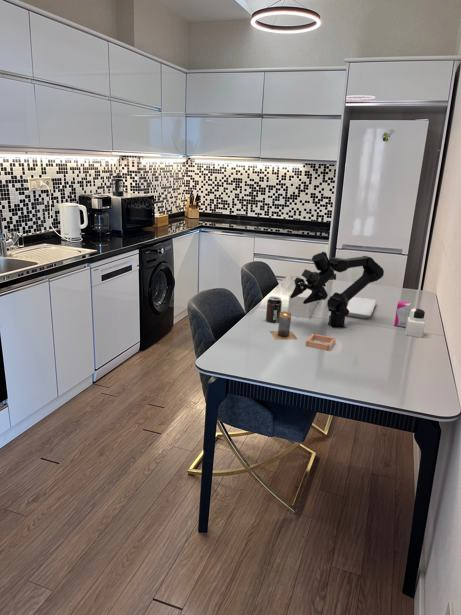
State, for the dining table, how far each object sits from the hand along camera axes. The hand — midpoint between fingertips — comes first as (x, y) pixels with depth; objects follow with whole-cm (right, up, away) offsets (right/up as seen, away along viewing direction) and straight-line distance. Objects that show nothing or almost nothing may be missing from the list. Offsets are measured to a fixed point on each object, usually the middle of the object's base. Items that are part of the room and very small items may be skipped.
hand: (297, 300), depth 203 cm
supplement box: (+54, -12, +22) cm, 59 cm away
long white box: (+9, -4, +41) cm, 42 cm away
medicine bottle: (+56, -16, +11) cm, 59 cm away
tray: (+38, -5, +43) cm, 57 cm away
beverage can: (-9, -10, +16) cm, 21 cm away
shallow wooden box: (+8, -19, -10) cm, 23 cm away
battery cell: (-6, -15, -2) cm, 17 cm away
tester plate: (-6, -16, -2) cm, 17 cm away
